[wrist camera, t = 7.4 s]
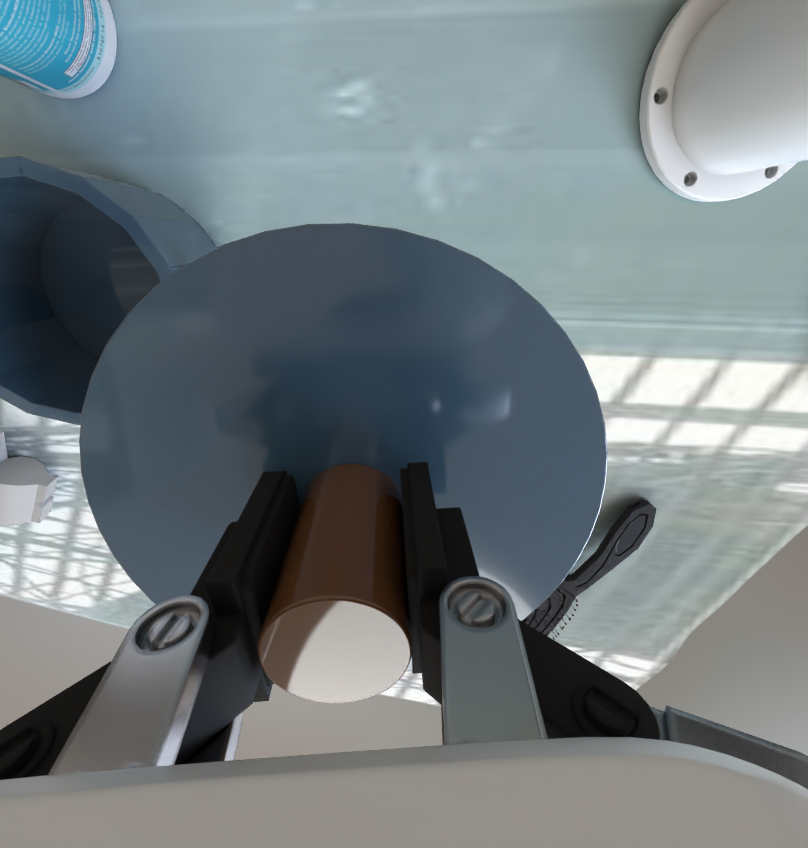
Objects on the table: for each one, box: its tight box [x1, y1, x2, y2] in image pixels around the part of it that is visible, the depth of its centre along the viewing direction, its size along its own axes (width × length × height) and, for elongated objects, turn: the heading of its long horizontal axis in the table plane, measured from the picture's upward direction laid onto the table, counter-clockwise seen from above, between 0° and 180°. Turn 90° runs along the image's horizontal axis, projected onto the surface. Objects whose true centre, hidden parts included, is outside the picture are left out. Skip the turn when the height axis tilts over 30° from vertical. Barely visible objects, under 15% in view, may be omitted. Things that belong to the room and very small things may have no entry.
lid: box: [79, 223, 607, 703], centre depth 10 cm, size 14×14×6 cm
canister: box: [0, 156, 217, 425], centre depth 26 cm, size 14×19×8 cm
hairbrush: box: [522, 500, 656, 640], centre depth 42 cm, size 8×4×25 cm
